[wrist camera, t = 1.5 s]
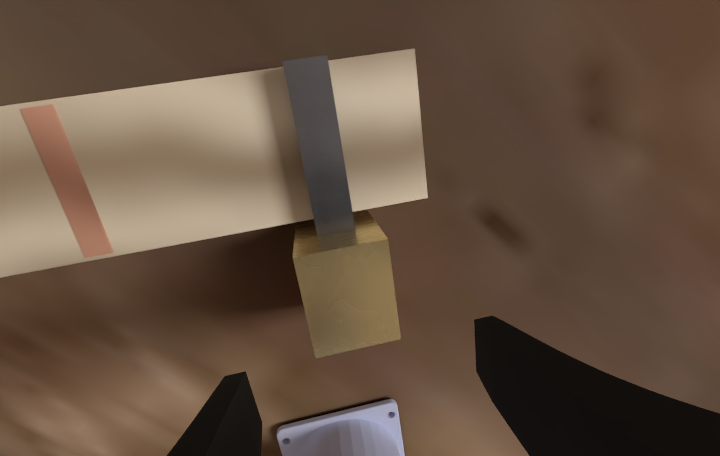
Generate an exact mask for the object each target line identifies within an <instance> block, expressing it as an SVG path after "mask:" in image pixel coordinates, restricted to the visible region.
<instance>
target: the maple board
mask: <svg viewBox="0 0 720 456" xmlns="http://www.w3.org/2000/svg"><path fill="white" fill-rule="evenodd" d="M328 63H329V70H330V76H331V82H332V88H333V94H334V100H335V107H336V113H337V119H338V125H339V131H340V138H341V144H342V150H343V156H344V162H345V168H346V175H347V181H348V187H349V193H350V199H351V205H352V212H354V211H360V210H365V209H370V208H376V207H381V206H387V205H392V204H397V203H403V202H408V201H413V200H419V199H424V198H428V195H427V184H426V172H425V161H424V150H423V138H422V127H421V116H420V104H419V93H418V82H417V70H416V59H415V49H408V50H401V51H394V52H387V53H380V54H372V55H365V56H358V57H351V58H344V59H337V60H329V61H328ZM311 219H314V217H313V212H312V207H311V202H310V197H309V192H308V187H307V182H306V177H305V172H304V167H303V162H302V157H301V152H300V147H299V142H298V137H297V132H296V127H295V122H294V117H293V112H292V107H291V102H290V97H289V92H288V87H287V82H286V77H285V72H284V67H279V68H272V69H265V70H258V71H251V72H243V73H236V74H229V75H222V76H215V77H208V78H200V79H193V80H186V81H179V82H172V83H165V84H157V85H150V86H143V87H136V88H129V89H122V90H114V91H107V92H100V93H93V94H86V95H79V96H71V97H64V98H57V99H50V100H43V101H36V102H28V103H21V104H14V105H7V106H0V277H6V276H11V275H17V274H22V273H27V272H33V271H38V270H43V269H49V268H54V267H59V266H65V265H70V264H76V263H81V262H86V261H92V260H97V259H102V258H108V257H113V256H118V255H124V254H129V253H135V252H140V251H145V250H151V249H156V248H161V247H167V246H172V245H177V244H183V243H188V242H193V241H199V240H204V239H210V238H215V237H220V236H226V235H231V234H236V233H242V232H247V231H252V230H258V229H263V228H269V227H274V226H279V225H285V224H290V223H295V222H301V221H306V220H311Z"/></svg>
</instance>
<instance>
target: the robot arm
mask: <svg viewBox="0 0 720 456" xmlns="http://www.w3.org/2000/svg"><path fill="white" fill-rule="evenodd" d="M474 323H475V348H476V371H477V373H478V375H479V377H480V379H481V381H482V383H483V385H484V387H485V389H486V391H487V392H488V394H489V396H490V398H491V400H492V402H493V403H494V405H495V406H496V408H497V409H498V411H499V412H500V414H501V415H502V416H503V418H504V419H505V421H506V422H507V424H508V425H509V427H510V428H511V430H512V431H513V433H514V434H515V435H516V437H517V438H518V440H519V441H520V443H521V444H522V446H523V447H524V448H525V450H526V451H527V453H528V454H529V456H720V414H719V413H716V412H713V411H709V410H706V409H703V408H700V407H697V406H694V405H691V404H688V403H685V402H682V401H679V400H676V399H673V398H670V397H667V396H664V395H661V394H658V393H656V392H653V391H650V390H647V389H645V388H642V387H640V386H637V385H635V384H632V383H629V382H627V381H624V380H622V379H619V378H617V377H614V376H612V375H610V374H607V373H605V372H603V371H600V370H598V369H596V368H594V367H592V366H590V365H587V364H585V363H583V362H581V361H579V360H577V359H574V358H572V357H570V356H568V355H566V354H564V353H562V352H560V351H558V350H556V349H554V348H552V347H551V346H549V345H547V344H545V343H543V342H541V341H539V340H537V339H535V338H533V337H532V336H530V335H528V334H526V333H524V332H522V331H521V330H519V329H517V328H515V327H513V326H511V325H509V324H508V323H506V322H504V321H502V320H500V319H498V318H496V317H494V316H489V317H484V318H480V319H476V320H474ZM390 412H392V413H390ZM285 438H288V439H285ZM277 440H278V443H279V446H280V450H281V453H282V456H405V454H404V447H403V441H402V434H401V427H400V420H399V413H398V407H397V404H396V401H395V400H393V399H387V400H383V401H379V402H375V403H371V404H367V405H363V406H359V407H355V408H351V409H347V410H343V411H339V412H335V413H330V414H326V415H322V416H318V417H314V418H310V419H306V420H302V421H298V422H294V423H290V424H286V425H282V426H280V427H279V428H278V429H277ZM261 441H262V421H261V418H260V415H259V412H258V408H257V405H256V402H255V399H254V396H253V393H252V390H251V387H250V384H249V381H248V377H247V374H246V372H241V373H237V374H233V375H228V376H225V377H224V378H223V380H222V381H221V382H220V384H219V385H218V386H217V388H216V389H215V391H214V392H213V393H212V395H211V396H210V398H209V399H208V400H207V402H206V403H205V405H204V406H203V408H202V409H201V410H200V412H199V413H198V415H197V416H196V417H195V419H194V420H193V421H192V423H191V424H190V426H189V427H188V428H187V430H186V431H185V432H184V434H183V435H182V436H181V438H180V439H179V441H178V442H177V443H176V445H175V446H174V447H173V448H172V450H171V451H170V452H169V453H168V455H167V456H261Z"/></svg>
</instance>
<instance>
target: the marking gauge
mask: <svg viewBox="0 0 720 456" xmlns="http://www.w3.org/2000/svg"><path fill="white" fill-rule="evenodd" d="M282 62H283V67H284V72H285V77H286V82H287V87H288V92H289V97H290V102H291V107H292V112H293V117H294V122H295V127H296V132H297V137H298V142H299V147H300V152H301V157H302V162H303V167H304V172H305V177H306V182H307V187H308V192H309V197H310V202H311V207H312V212H313V217H314V220H313V221H308V222H302V223H297V224H296V226H295V237H294V248H293V262H294V266H295V270H296V275H297V279H298V284H299V288H300V292H301V297H302V301H303V305H304V310H305V314H306V318H307V323H308V327H309V331H310V336H311V340H312V344H313V349H314V353H315V358H320V357H324V356H328V355H333V354H337V353H342V352H346V351H350V350H355V349H359V348H364V347H368V346H372V345H377V344H381V343H385V342H390V341H394V340H399V339H401V335H400V328H399V320H398V312H397V305H396V297H395V290H394V282H393V274H392V267H391V259H390V252H389V244H388V239H387V237H386V236H385V234H384V233H383V232H382V230H381V229H380V227H379V226H378V225H377V223H376V222H375V220H374V219H373V218H372V216H371V215H370V213H369V212H368V211H361V212H356V213H353V212H352V205H351V199H350V193H349V187H348V181H347V175H346V168H345V162H344V156H343V150H342V144H341V138H340V131H339V125H338V119H337V113H336V107H335V100H334V94H333V88H332V82H331V76H330V70H329V63H328V57H327V55H324V56H317V57H310V58H302V59H295V60H288V61H282Z"/></svg>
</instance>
